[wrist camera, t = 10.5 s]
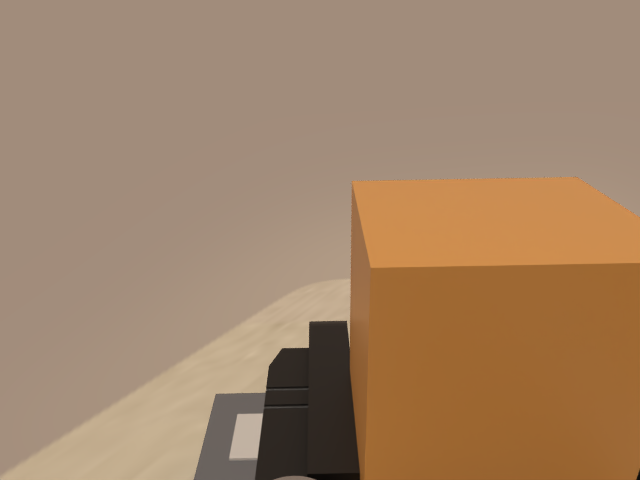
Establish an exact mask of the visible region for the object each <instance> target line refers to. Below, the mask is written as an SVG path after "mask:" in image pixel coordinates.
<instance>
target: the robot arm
mask: <svg viewBox="0 0 640 480" xmlns="http://www.w3.org/2000/svg"><path fill="white" fill-rule="evenodd" d="M255 480H360V468H359V458H358V447H357V437H356V427H355V417H354V407H353V396H352V386H351V376H350V347H349V338H348V328H347V321H316V322H309V348H282V349H281V351H280V352H279V354H278V355H277V356H276V358H275V359H274V360H273V362H272V363H271V364H270V366H269V370H268V378H267V386H266V394H265V402H264V410H263V418H262V426H261V434H260V442H259V450H258V458H257V466H256V474H255ZM636 480H640V470H639V473H638V476H637V479H636Z"/></svg>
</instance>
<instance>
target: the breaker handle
mask: <svg viewBox="0 0 640 480" xmlns="http://www.w3.org/2000/svg"><path fill="white" fill-rule="evenodd" d="M351 216H352V217H351V219H352V220H351V305H350V376H351V386H352V396H353V407H354V417H355V427H356V437H357V447H358V458H359V468H360V480H636V479H637V476H638V473H639V470H640V217H638V216H637V215H635V214H634V213H632V212H631V211H629V210H628V209H626V208H624V207H623V206H621V205H620V204H618V203H617V202H615V201H613V200H612V199H610V198H609V197H607V196H606V195H604V194H603V193H601V192H599V191H598V190H596V189H595V188H593V187H592V186H590V185H589V184H587V183H585V182H584V181H582V180H581V179H579V178H578V177H556V178H555V177H554V178H504V179H503V178H501V179H500V178H498V179H445V180H444V179H441V180H383V181H352V215H351Z"/></svg>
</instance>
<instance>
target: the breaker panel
mask: <svg viewBox="0 0 640 480" xmlns="http://www.w3.org/2000/svg"><path fill="white" fill-rule="evenodd" d="M265 394H266V393H237V394H216V395H215V399H214V403H213V407H212V411H211V415H210V419H209V423H208V427H207V431H206V434H205V438H204V442H203V446H202V450H201V454H200V458H199V462H198V466H197V470H196V474H195V477H194V480H255V474H256V466H257V458H258V450H259V442H260V434H261V426H262V418H263V410H264V402H265Z"/></svg>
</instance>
